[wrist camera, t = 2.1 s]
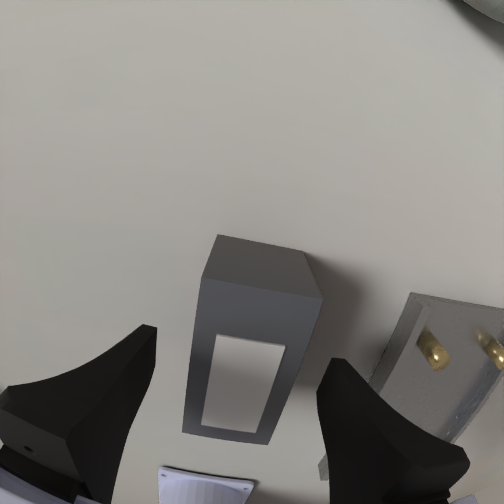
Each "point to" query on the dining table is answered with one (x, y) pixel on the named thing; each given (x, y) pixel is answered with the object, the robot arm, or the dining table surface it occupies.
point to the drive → (248, 339)
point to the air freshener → (489, 8)
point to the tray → (440, 365)
